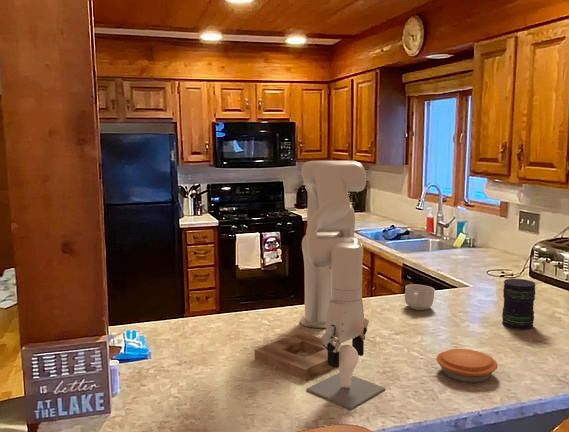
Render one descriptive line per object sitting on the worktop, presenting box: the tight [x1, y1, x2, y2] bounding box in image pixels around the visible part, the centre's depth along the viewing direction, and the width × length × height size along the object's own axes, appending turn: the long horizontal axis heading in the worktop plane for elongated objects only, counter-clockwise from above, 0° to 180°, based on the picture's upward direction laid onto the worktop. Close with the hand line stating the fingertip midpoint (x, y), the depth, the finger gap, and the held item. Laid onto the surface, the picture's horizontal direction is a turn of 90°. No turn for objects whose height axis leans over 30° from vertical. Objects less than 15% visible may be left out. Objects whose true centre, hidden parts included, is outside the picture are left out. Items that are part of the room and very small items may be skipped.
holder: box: [253, 331, 342, 381], centre depth 151 cm, size 20×20×3 cm
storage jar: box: [501, 278, 536, 331], centre depth 177 cm, size 10×10×15 cm
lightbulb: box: [337, 344, 360, 388], centre depth 131 cm, size 6×6×11 cm
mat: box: [306, 372, 386, 410], centre depth 131 cm, size 14×14×1 cm
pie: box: [436, 348, 499, 384], centre depth 140 cm, size 15×16×5 cm
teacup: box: [404, 283, 436, 311], centre depth 196 cm, size 14×11×8 cm
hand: (345, 360), depth 131 cm, fingers open, 9 cm apart
